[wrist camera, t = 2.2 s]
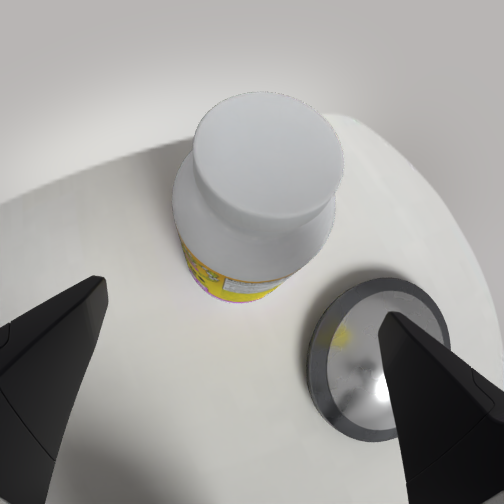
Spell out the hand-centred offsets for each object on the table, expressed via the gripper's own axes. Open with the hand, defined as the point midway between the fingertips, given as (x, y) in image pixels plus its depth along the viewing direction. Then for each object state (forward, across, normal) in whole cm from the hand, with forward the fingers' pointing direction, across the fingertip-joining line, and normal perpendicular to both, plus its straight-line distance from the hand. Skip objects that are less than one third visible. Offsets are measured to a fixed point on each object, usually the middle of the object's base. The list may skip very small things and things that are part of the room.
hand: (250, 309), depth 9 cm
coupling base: (+7, -11, +9) cm, 16 cm away
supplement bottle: (+11, 0, +5) cm, 12 cm away
